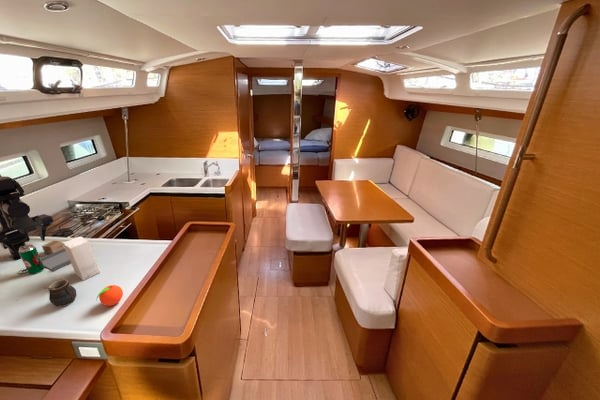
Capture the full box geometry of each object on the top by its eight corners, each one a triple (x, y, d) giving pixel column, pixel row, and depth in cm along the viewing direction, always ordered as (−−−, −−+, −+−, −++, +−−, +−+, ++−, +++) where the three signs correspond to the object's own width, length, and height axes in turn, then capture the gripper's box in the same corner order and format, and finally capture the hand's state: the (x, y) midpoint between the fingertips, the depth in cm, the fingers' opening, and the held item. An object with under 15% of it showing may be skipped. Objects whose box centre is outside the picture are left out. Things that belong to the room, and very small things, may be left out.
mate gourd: (83, 294, 99) (74, 273, 95) (67, 310, 92) (57, 287, 89) (64, 294, 99) (55, 273, 95) (47, 310, 92) (35, 287, 89)
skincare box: (100, 273, 111) (89, 241, 106) (82, 281, 106) (69, 248, 100) (92, 266, 116) (81, 235, 110) (74, 274, 111) (61, 242, 105)
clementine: (105, 314, 90) (99, 298, 87) (95, 307, 93) (88, 291, 91) (129, 300, 97) (124, 284, 94) (118, 293, 100) (113, 278, 97)
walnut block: (45, 255, 125) (41, 246, 123) (56, 249, 129) (52, 240, 127) (54, 256, 124) (50, 246, 122) (65, 250, 128) (61, 241, 126)
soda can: (26, 272, 112) (15, 248, 108) (41, 266, 116) (31, 242, 112) (32, 276, 110) (20, 251, 105) (47, 269, 114) (36, 245, 110)
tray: (37, 263, 118) (36, 260, 118) (70, 248, 129) (69, 245, 129) (54, 271, 113) (52, 268, 112) (87, 255, 124) (86, 252, 123)
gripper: (-12, 225, 89) (8, 263, 95) (54, 205, 105) (67, 239, 111) (-26, 219, 94) (-7, 256, 100) (39, 201, 109) (52, 234, 115)
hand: (29, 246), depth 106 cm, fingers open, 9 cm apart
